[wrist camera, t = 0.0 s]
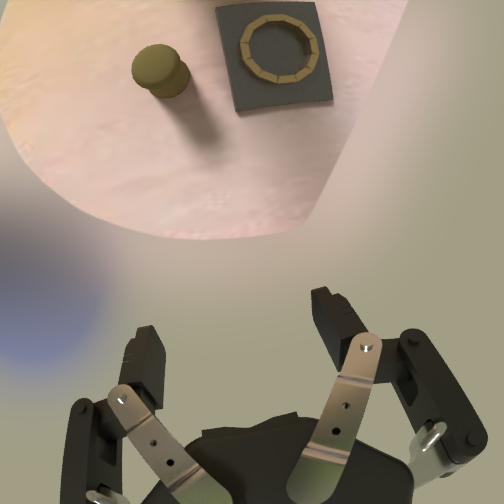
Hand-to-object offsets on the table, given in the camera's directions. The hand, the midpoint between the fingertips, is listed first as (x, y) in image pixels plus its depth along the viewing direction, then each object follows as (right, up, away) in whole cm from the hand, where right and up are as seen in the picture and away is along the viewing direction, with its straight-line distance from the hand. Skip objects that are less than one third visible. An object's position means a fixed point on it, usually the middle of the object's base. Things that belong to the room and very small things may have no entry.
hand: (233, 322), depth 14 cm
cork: (-10, +27, +18) cm, 34 cm away
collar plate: (+4, +31, +18) cm, 36 cm away
